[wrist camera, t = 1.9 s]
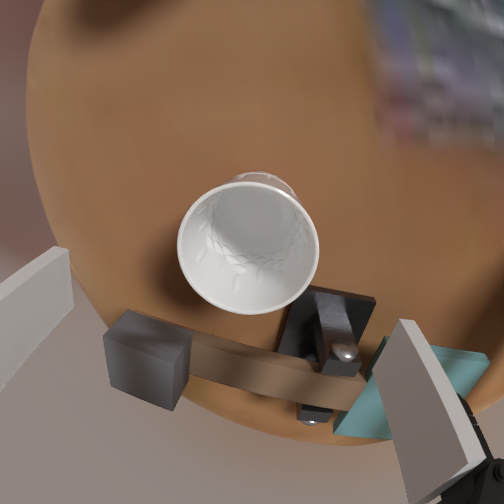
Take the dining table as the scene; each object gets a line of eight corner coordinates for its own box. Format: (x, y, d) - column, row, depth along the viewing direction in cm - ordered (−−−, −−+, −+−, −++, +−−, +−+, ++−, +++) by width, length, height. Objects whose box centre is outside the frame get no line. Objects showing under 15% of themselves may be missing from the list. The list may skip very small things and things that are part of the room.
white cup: (298, 256, 27) (307, 320, 18) (211, 248, 27) (179, 307, 18) (308, 168, 24) (328, 190, 15) (214, 160, 24) (176, 177, 15)
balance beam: (484, 353, 21) (506, 391, 16) (425, 430, 25) (433, 467, 20) (136, 271, 24) (99, 303, 19) (139, 370, 28) (114, 405, 23)
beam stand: (373, 297, 28) (399, 349, 20) (334, 381, 32) (343, 434, 25) (297, 282, 28) (303, 335, 20) (269, 371, 32) (265, 428, 25)
